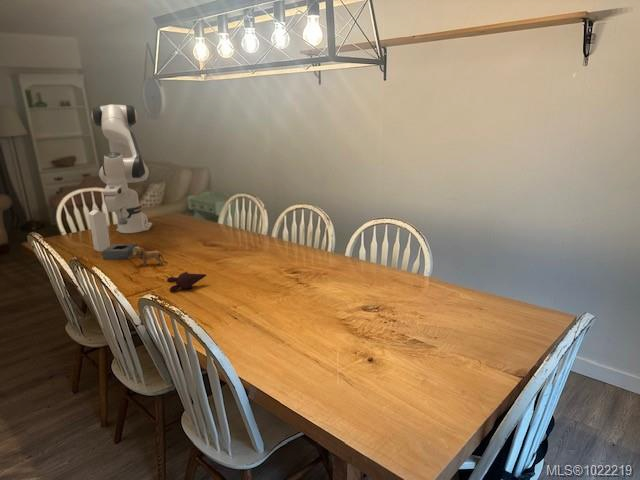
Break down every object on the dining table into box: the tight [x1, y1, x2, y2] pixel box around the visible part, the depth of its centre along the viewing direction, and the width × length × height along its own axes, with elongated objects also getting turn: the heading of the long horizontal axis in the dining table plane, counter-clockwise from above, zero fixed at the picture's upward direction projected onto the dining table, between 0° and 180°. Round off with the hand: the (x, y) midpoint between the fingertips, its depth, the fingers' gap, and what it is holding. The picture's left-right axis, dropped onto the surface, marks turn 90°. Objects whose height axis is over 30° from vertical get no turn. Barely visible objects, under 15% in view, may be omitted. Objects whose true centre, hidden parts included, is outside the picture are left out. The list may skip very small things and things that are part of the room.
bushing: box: [117, 207, 128, 225], centre depth 217 cm, size 4×4×8 cm
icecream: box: [166, 270, 207, 293], centre depth 178 cm, size 7×7×15 cm
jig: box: [101, 243, 139, 260], centre depth 221 cm, size 12×13×4 cm
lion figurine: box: [133, 246, 169, 267], centre depth 206 cm, size 15×5×9 cm, turn 96°
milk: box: [87, 206, 111, 253], centre depth 228 cm, size 6×6×22 cm
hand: (122, 216), depth 217 cm, fingers closed on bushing, 4 cm apart
